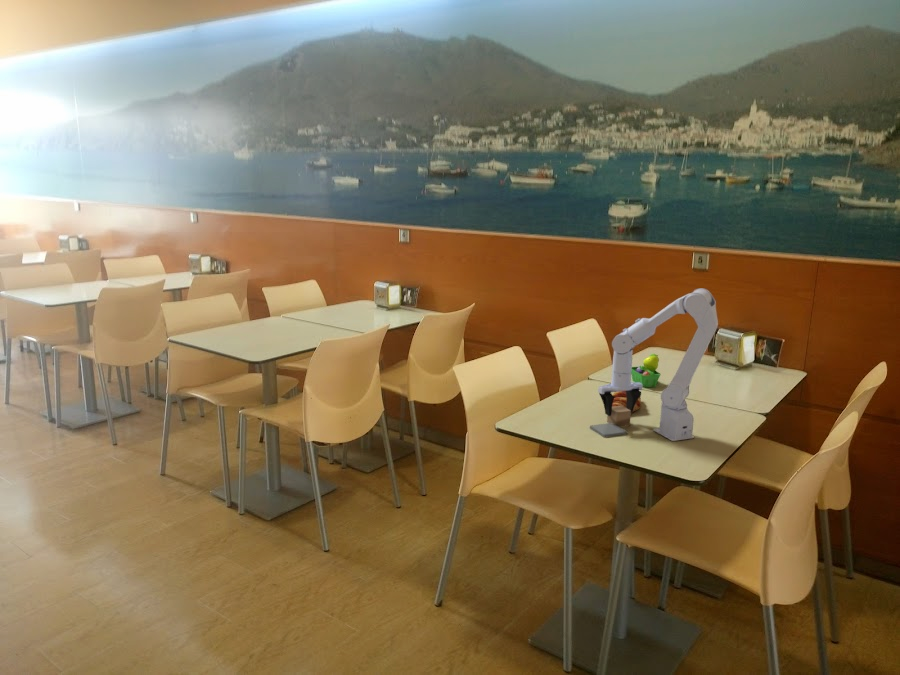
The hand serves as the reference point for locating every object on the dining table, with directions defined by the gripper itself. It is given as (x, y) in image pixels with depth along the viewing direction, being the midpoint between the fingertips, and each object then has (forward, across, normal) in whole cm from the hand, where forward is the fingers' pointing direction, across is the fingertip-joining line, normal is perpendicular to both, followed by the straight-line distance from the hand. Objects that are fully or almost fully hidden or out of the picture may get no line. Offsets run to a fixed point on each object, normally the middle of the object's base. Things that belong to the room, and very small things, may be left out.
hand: (618, 413), depth 212 cm
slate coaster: (+3, +6, +5) cm, 9 cm away
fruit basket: (+4, -34, -33) cm, 48 cm away
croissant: (+4, -11, -12) cm, 16 cm away
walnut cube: (+3, 0, 0) cm, 4 cm away
